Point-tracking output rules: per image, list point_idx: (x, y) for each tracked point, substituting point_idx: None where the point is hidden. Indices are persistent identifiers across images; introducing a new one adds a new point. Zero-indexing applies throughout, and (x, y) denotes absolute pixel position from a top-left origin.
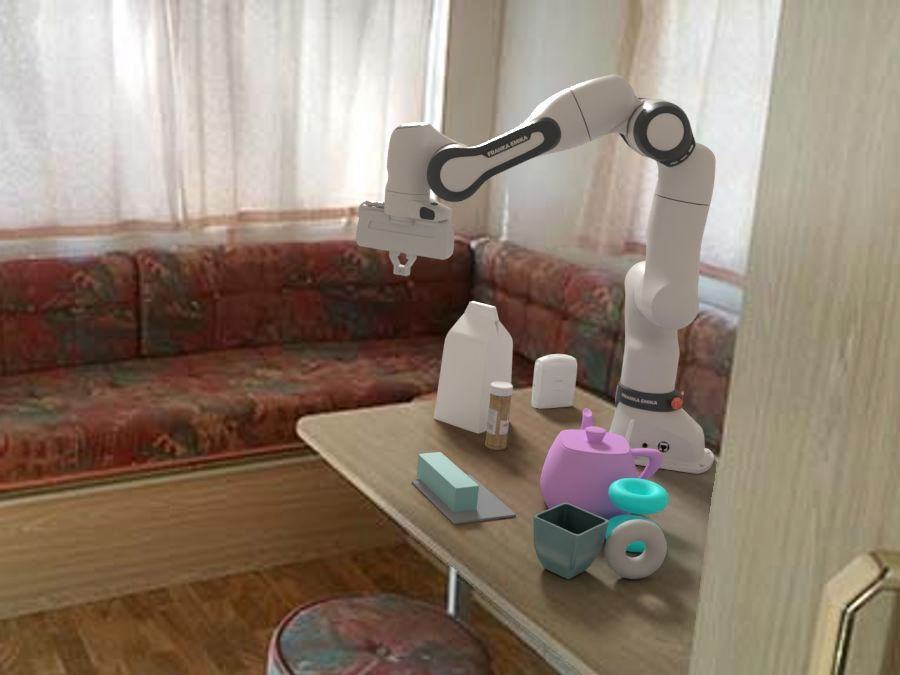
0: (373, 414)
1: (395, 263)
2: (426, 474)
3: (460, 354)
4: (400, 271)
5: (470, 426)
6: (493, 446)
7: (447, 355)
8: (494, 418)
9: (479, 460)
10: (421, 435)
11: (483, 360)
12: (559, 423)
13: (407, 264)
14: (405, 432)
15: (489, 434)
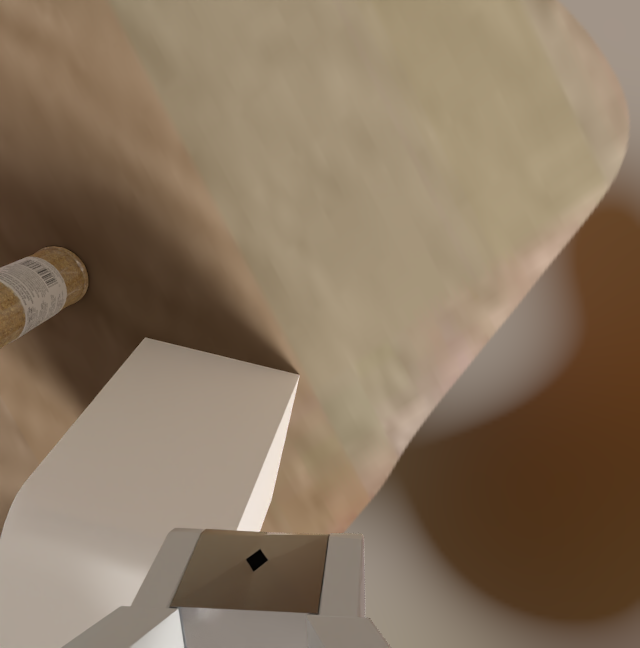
0: (463, 303)
1: (328, 643)
2: None
3: (158, 489)
4: (252, 554)
5: (168, 349)
6: (47, 249)
7: (226, 491)
8: (1, 269)
9: (39, 150)
10: (262, 229)
11: (45, 463)
12: None
13: (100, 645)
14: (312, 223)
15: (46, 259)
